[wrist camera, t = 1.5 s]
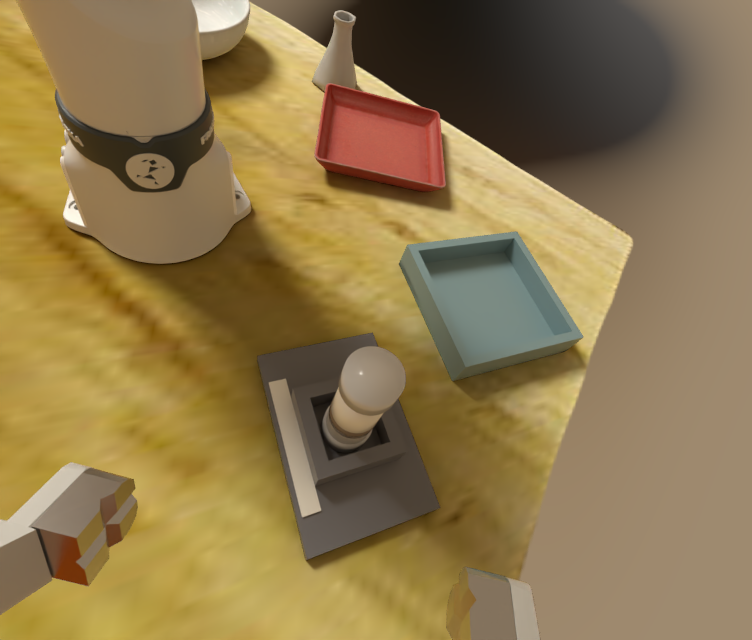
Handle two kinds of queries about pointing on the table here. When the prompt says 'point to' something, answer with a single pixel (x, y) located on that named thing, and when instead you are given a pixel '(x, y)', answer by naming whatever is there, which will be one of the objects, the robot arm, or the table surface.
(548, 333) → the tray
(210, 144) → the robot arm
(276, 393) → the board
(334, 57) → the flask
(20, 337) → the table surface
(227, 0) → the serving bowl
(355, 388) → the cylinder
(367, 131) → the plant saucer
